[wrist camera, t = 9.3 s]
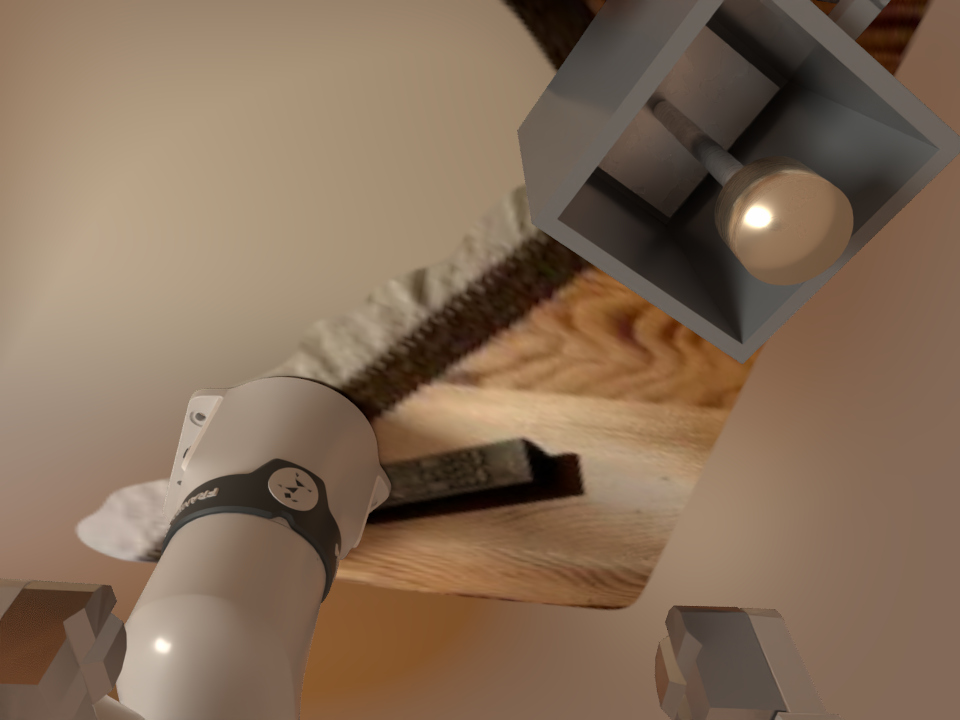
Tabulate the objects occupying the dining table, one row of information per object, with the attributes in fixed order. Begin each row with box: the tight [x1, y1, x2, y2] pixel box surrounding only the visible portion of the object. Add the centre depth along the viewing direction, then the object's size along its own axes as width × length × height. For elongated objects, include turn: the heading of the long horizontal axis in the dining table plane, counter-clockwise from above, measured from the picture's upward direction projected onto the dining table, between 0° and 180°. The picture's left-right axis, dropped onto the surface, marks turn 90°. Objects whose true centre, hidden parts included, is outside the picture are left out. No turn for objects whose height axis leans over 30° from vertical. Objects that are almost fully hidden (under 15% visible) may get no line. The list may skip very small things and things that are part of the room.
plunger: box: [598, 26, 853, 285], centre depth 34 cm, size 10×10×22 cm
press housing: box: [517, 0, 960, 364], centre depth 37 cm, size 16×13×18 cm
